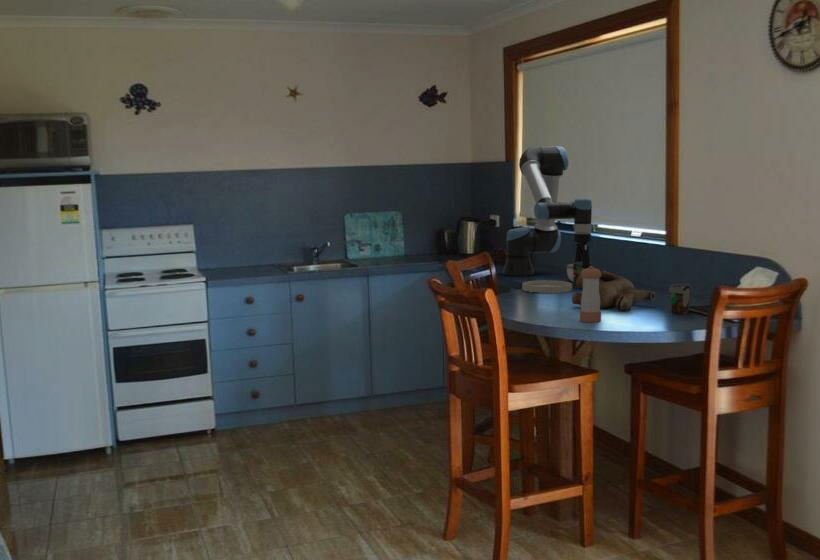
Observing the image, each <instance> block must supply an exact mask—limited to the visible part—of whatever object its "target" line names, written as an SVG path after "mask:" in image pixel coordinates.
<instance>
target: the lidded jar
mask: <svg viewBox="0 0 820 560" xmlns="http://www.w3.org/2000/svg"><path fill="white" fill-rule="evenodd" d="M566 274H567V277H568V279H569V280H570V281H571V282H570V283H573V263H570V264H566Z"/></svg>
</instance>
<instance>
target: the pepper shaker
mask: <svg viewBox="0 0 820 560" xmlns="http://www.w3.org/2000/svg"><path fill="white" fill-rule="evenodd" d="M601 272H602V271H601V270H600V269H598V268H595V267H594V266H592V265H591V266H590V267H589V268H587V269H584V270H582V272H581V276H582V277H583V288H582V292H581V294H582V298H581V305H580V310H579V321H580V322H582V323H583V322H584V323H599V322H601V321H602V311H601V309H600V295H599V281H600V277H601Z"/></svg>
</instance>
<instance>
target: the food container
mask: <svg viewBox="0 0 820 560" xmlns="http://www.w3.org/2000/svg"><path fill="white" fill-rule="evenodd" d="M690 291H691V284H690V283H674V284H670V286H669V289H668V292H670V302H671V303H670V304H671V305H670V306H671V307H670V308H671V313H672V314H675V315H679V316H680V315H681V316H684V315H685V314H686V313H688V312H690V293H691V292H690Z"/></svg>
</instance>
